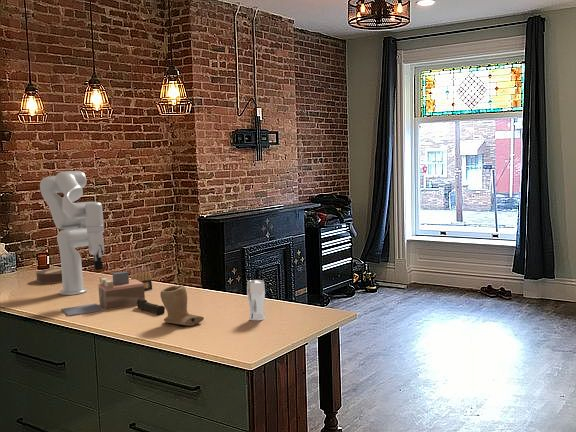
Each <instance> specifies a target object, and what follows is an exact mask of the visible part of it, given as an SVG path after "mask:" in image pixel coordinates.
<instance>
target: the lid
mask: <svg viewBox="0 0 576 432" xmlns="http://www.w3.org/2000/svg"><path fill="white" fill-rule="evenodd" d="M111 274H112V282H113V288H107V287H106V286H104V285H102V284H100V283H98V285H97V286H98V289H99V288H101V289H103V290H104V291H113V290H119V289H126V288H133V287H140V286H144V283H142V282H140V281H138V280H136V279H133V280H131V279H129V272H128V271H117V272H112V273H111Z"/></svg>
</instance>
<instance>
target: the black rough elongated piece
mask: <svg viewBox="0 0 576 432" xmlns="http://www.w3.org/2000/svg"><path fill="white" fill-rule="evenodd" d="M136 306H137V308H138V309H139V310H140V311H148V312H151V313H153V314H156V316H161V315H164V314H165V310H166V308H165V306H164V305H159V304H156V303H155V304H154V303H152V302H148V301H147V299H145V300H144V299H138V300H137V305H136Z"/></svg>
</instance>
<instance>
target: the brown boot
mask: <svg viewBox="0 0 576 432" xmlns="http://www.w3.org/2000/svg"><path fill="white" fill-rule="evenodd" d="M160 300H161V302H162V304H163V306H164V307H165V310H166V312H167V316H166V317H164V318H163V322H165V323H166V324H167V323H168V324H174V325H181V326H189V327H191V326H195V325H198V324H199V323H201V322H202V321H204V319H205V318H204V316H202V315H195V314H190V313H189V312H188V292H187V289H186V287H185V286H184V285H183V284H180V285H172V286H171V285H170V286H169V287H165V288H163V289H161V290H160Z"/></svg>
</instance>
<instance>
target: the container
mask: <svg viewBox="0 0 576 432" xmlns="http://www.w3.org/2000/svg"><path fill="white" fill-rule="evenodd" d="M36 283H37V284H39V283H40V284H39V285H56V284H63V283H62V269H61V267H53V268H46V269H41V270H39V271H37V272H36Z"/></svg>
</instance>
